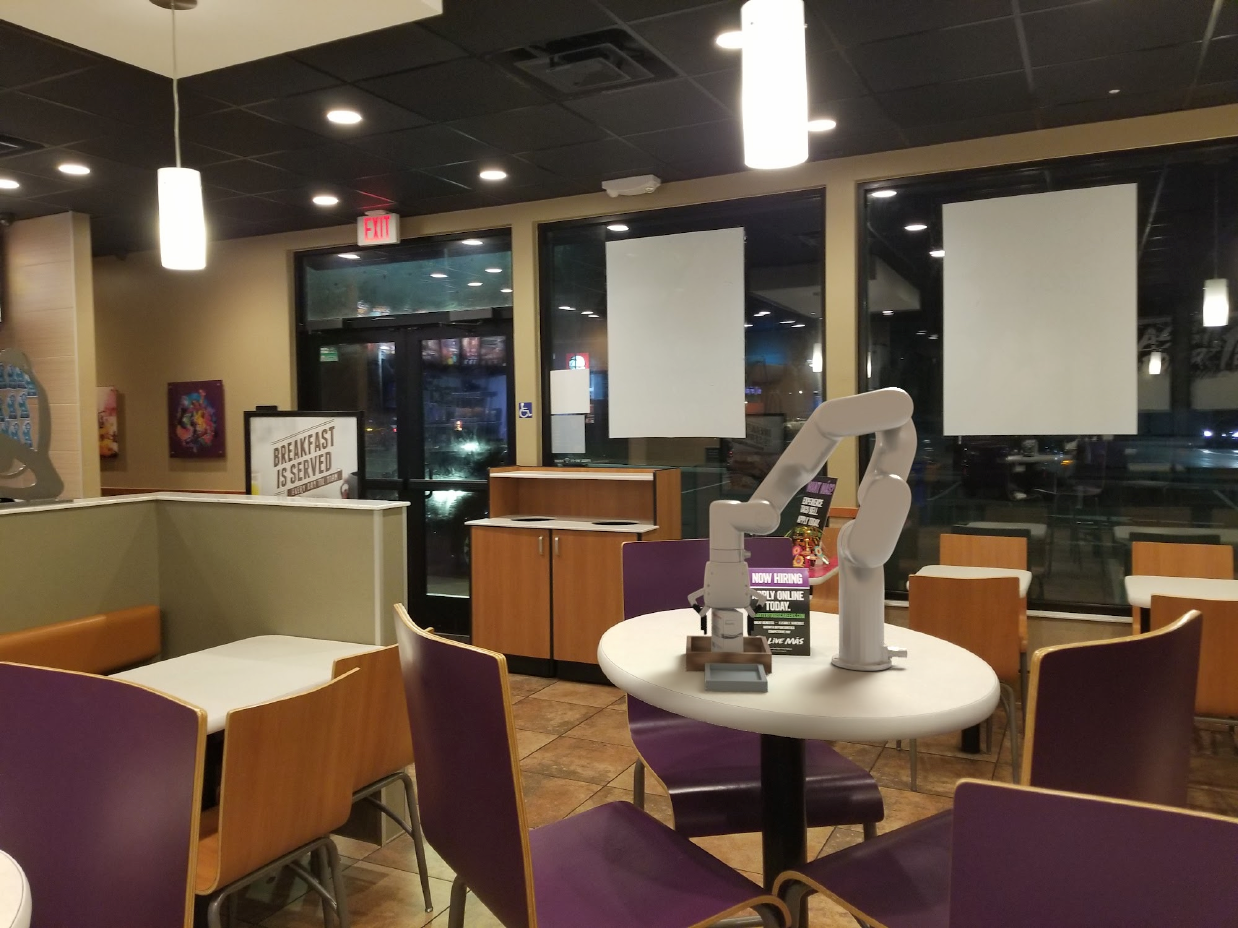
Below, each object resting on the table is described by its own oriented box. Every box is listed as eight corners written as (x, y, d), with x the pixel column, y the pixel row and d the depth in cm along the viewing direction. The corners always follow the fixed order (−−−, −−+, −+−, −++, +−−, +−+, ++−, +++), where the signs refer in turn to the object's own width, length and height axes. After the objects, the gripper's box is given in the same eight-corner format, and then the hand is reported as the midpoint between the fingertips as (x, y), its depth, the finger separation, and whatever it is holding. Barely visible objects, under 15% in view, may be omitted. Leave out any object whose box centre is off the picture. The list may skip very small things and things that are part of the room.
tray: (762, 673, 183) (762, 663, 183) (767, 691, 169) (767, 681, 169) (704, 672, 184) (704, 662, 184) (705, 690, 170) (705, 680, 170)
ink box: (744, 666, 189) (744, 612, 189) (722, 667, 188) (722, 613, 188) (731, 657, 198) (731, 605, 197) (710, 658, 197) (710, 606, 196)
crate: (765, 653, 201) (765, 636, 200) (771, 672, 184) (771, 653, 184) (686, 652, 202) (686, 635, 202) (685, 671, 185) (685, 652, 185)
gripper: (765, 554, 195) (765, 630, 196) (687, 554, 197) (688, 629, 197) (767, 558, 188) (768, 638, 188) (687, 558, 189) (687, 637, 190)
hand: (727, 633), depth 193 cm, fingers open, 9 cm apart
